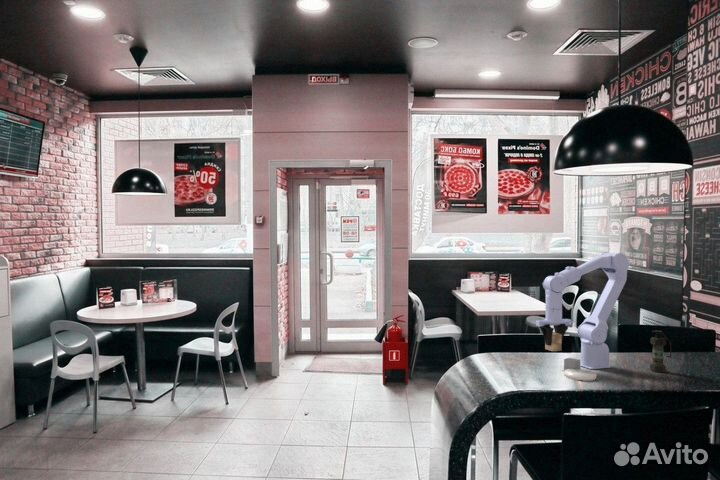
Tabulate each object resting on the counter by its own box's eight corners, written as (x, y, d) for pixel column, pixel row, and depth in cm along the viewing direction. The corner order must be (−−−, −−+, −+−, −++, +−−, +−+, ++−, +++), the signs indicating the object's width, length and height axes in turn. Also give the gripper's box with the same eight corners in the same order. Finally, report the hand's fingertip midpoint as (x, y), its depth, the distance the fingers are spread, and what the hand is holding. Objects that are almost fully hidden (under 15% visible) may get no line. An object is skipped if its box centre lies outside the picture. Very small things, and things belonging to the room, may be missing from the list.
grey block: (569, 368, 176) (569, 357, 176) (580, 370, 173) (580, 359, 173) (564, 370, 174) (564, 359, 174) (574, 372, 171) (574, 361, 171)
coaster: (580, 371, 171) (580, 367, 171) (603, 379, 162) (603, 375, 162) (558, 374, 168) (558, 369, 168) (579, 382, 158) (579, 377, 158)
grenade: (669, 370, 174) (670, 329, 174) (672, 374, 169) (673, 332, 169) (649, 368, 177) (649, 328, 177) (651, 372, 172) (651, 330, 172)
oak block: (553, 348, 180) (554, 332, 180) (561, 350, 176) (561, 334, 176) (545, 348, 179) (545, 332, 179) (552, 351, 175) (552, 334, 175)
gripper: (561, 306, 183) (561, 341, 183) (530, 307, 179) (530, 343, 179) (575, 308, 177) (575, 345, 177) (543, 310, 172) (543, 347, 172)
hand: (553, 344), depth 177 cm, fingers closed on oak block, 4 cm apart
